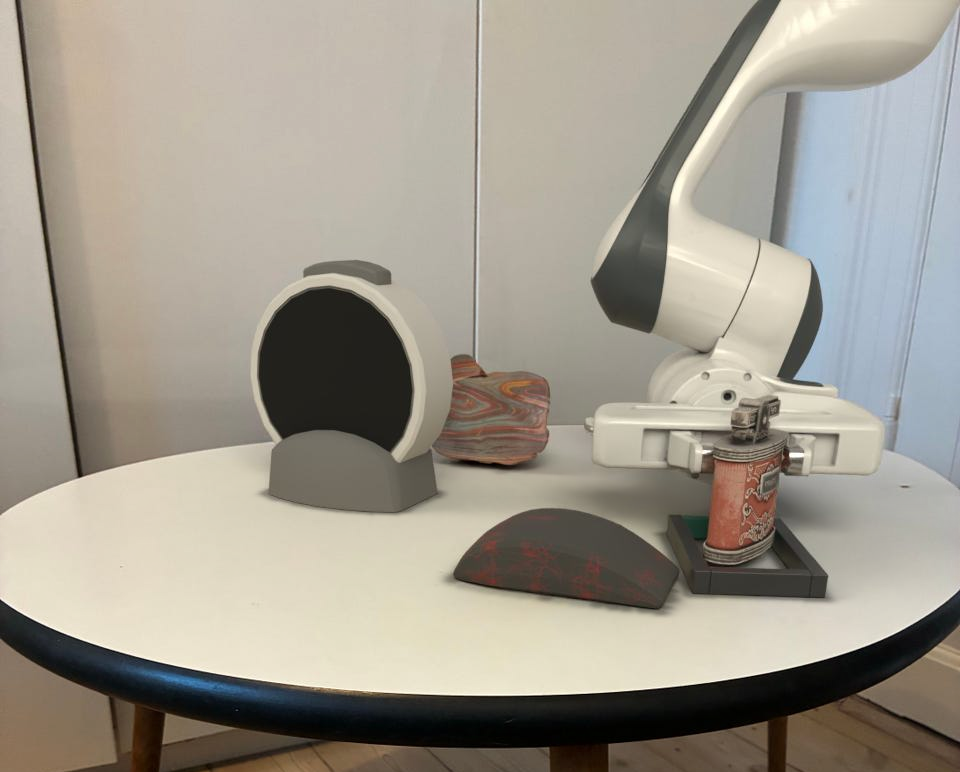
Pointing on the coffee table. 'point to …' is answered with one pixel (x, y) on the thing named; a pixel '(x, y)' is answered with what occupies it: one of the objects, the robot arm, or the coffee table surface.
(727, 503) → the lighter
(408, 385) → the alarm clock
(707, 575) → the frame
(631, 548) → the computer mouse
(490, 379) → the stone
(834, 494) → the coffee table surface
